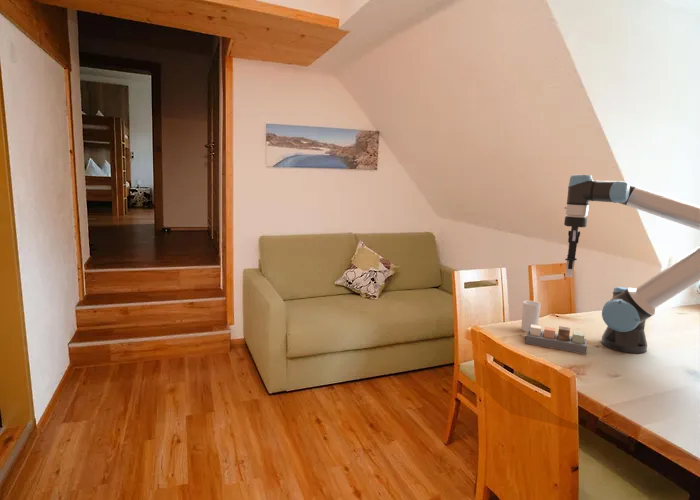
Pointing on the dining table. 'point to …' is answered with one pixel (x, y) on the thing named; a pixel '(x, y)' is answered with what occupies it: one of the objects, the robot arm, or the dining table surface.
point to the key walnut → (563, 333)
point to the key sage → (578, 337)
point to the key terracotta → (549, 332)
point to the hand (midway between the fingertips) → (568, 276)
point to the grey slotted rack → (556, 343)
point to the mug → (530, 314)
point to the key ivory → (535, 330)
